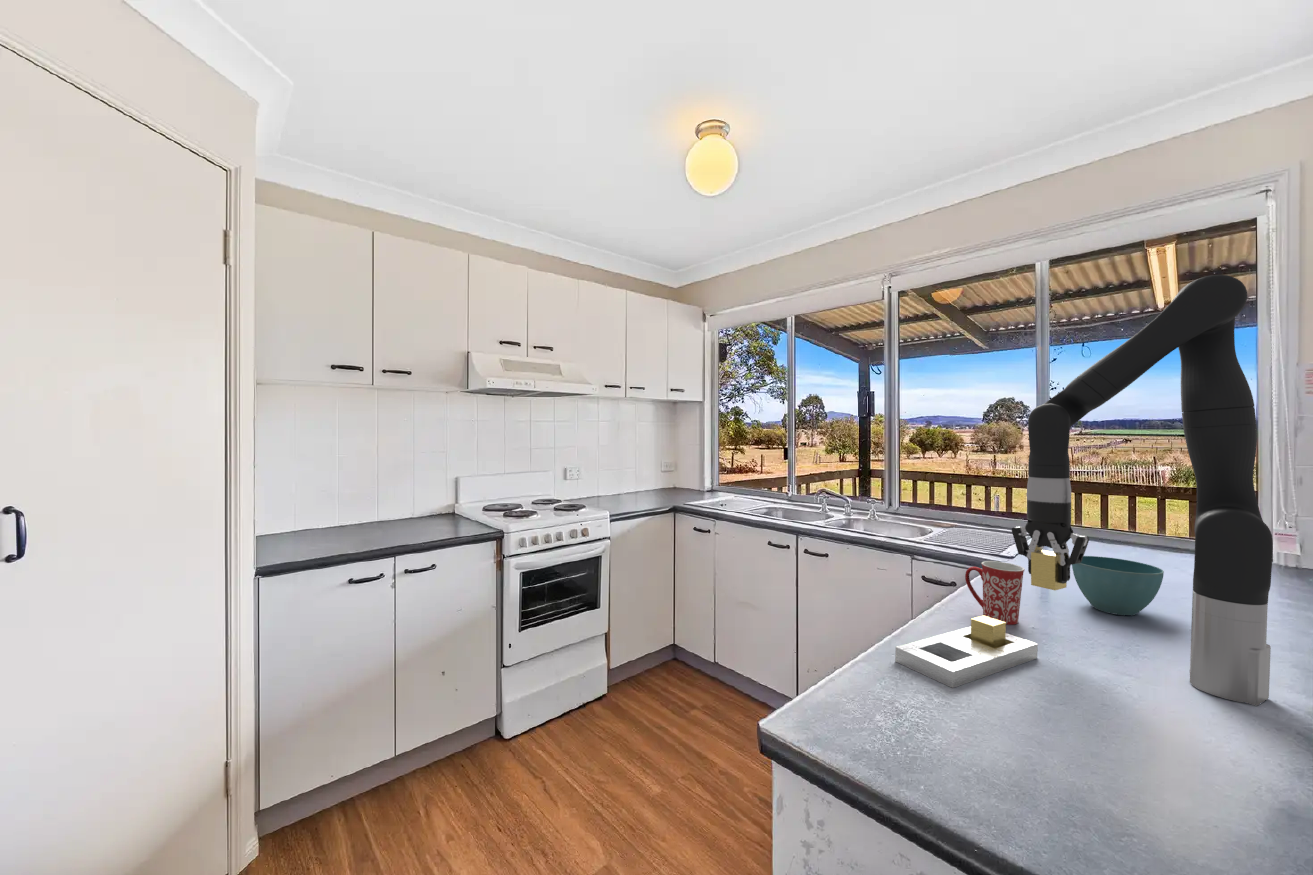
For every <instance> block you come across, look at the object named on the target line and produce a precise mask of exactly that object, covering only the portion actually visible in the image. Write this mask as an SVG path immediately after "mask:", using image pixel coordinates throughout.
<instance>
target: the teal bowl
mask: <svg viewBox="0 0 1313 875" xmlns="http://www.w3.org/2000/svg"><path fill="white" fill-rule="evenodd" d="M1071 569H1072V573H1073V577H1074V580H1075V581H1076V584H1077V586H1078V588H1079V591H1080V592H1081V593H1082V595H1083V596H1084V597H1085V598H1086V600H1087V601H1088V602H1089V604H1090V605H1091V606H1092V607H1093V608H1094V609H1096V610H1098V611H1101V612H1104V613H1107V612H1108V613H1109V614H1111V613H1112V615H1117V614H1118V615H1117V616H1125V615H1131V616H1134V615H1138V614H1139V613H1140V612H1142V611H1143V610H1144V609H1145V608H1147V607H1148V606H1149V605H1150V604H1151V603H1152V601H1153V600H1154V599H1155V598H1156V596H1157V594H1158V592H1159V590H1160V589H1161V585H1162V583H1163V579H1164V574H1165V570H1163V569H1162V568H1160V567H1157V566H1154V565H1151V564H1147V563H1144V562H1139V561H1134V560H1129V559H1122V558H1115V557H1108V556H1095V555H1084V556H1083V559H1082V562H1081V563H1077V564H1072V565H1071Z"/></svg>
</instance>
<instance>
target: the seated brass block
mask: <svg viewBox="0 0 1313 875" xmlns="http://www.w3.org/2000/svg"><path fill="white" fill-rule="evenodd" d="M970 626H971V640H973V641H976V642H979V643H981V644H984V645H987V646H990V647H992V648H995V649H996V648H999V647H1002V646H1005V634H1006V633H1007V632H1006V631H1007V630H1006V629H1007V627H1006V622H1003V621H1000V620H997V619H994V618H990V617H987V616H983V615H980V616H976V617H972V618H970Z"/></svg>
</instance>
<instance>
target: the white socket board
mask: <svg viewBox="0 0 1313 875" xmlns="http://www.w3.org/2000/svg"><path fill="white" fill-rule="evenodd" d="M1038 646H1039V644H1038V643H1036V642H1034V641H1031V640H1028V639H1024V638H1021V637H1019V636H1016V635H1013V634H1011V633H1010V634H1009V633H1007V632H1006V634H1005V646H1002V647H999V648H996V649H995V648H992V647H990V646H987V645H984V644H981V643H979V642H976V641H973V640H971V625H970V626H967V627H963V628H960V629H956V630H951V631H949V632H945V633H941V634H937V635H934V636H930V637H928V638H923V639H919V640H916V641H912V642H909V643H905V644H900V645H897V646H895V659H894V661H895V662H896V663H897V664H900V665H902V666H903V667H906V668H909V669H910V670H913V671H915V672H918V673H919V674H921V675H924V676H926V677H927V678H929V679H932V680H934V681H937V682H939V683H941V684H943V685H945V686H947V687H950V688H952V689H954V688H957V687H959V686H962V685H966V684H968V683H971V682H973V681H977V680H980V679H982V678H985V677H989V676H991V675H993V674H997V673H999V672H1002V671H1005V670H1008V669H1011V668H1013V667H1016V666H1019V665H1022V664H1024V663H1028V662H1030V661H1031V662H1032V661H1034V660H1035V659H1038V652H1039V651H1038Z"/></svg>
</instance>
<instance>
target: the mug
mask: <svg viewBox="0 0 1313 875" xmlns="http://www.w3.org/2000/svg"><path fill="white" fill-rule="evenodd" d="M980 564H981V567H982V568H981V567H978V566H970V567H969V568H968V569H966V571H965V576H964V578H965V579H964V580H965V583H966V586H967V588H968V590H969V591H970V594H971V595H972V596H973V598H974V599H975V601H977V603H978V604H979V605H980V607H981V608H982V616H987V617H990V618H994V619H997V620H1000V621H1003V622H1006V625H1009V626H1010V625H1017V624H1019V616H1020V607H1021V600H1022V590H1023V582H1024V581H1023V580H1024V572H1025V567H1023V566H1021V565H1017V564H1014V563H1010V562H1005V561H995V560H986V561H982V562H981V563H980ZM972 571H976V572H978V573H979V576H980V578H981V581H982V598H981V597H980V596H979V595H978V593H977V592H976V590H975V588H974V587H973V584H972V583H971V580H970V573H971V572H972Z"/></svg>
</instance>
